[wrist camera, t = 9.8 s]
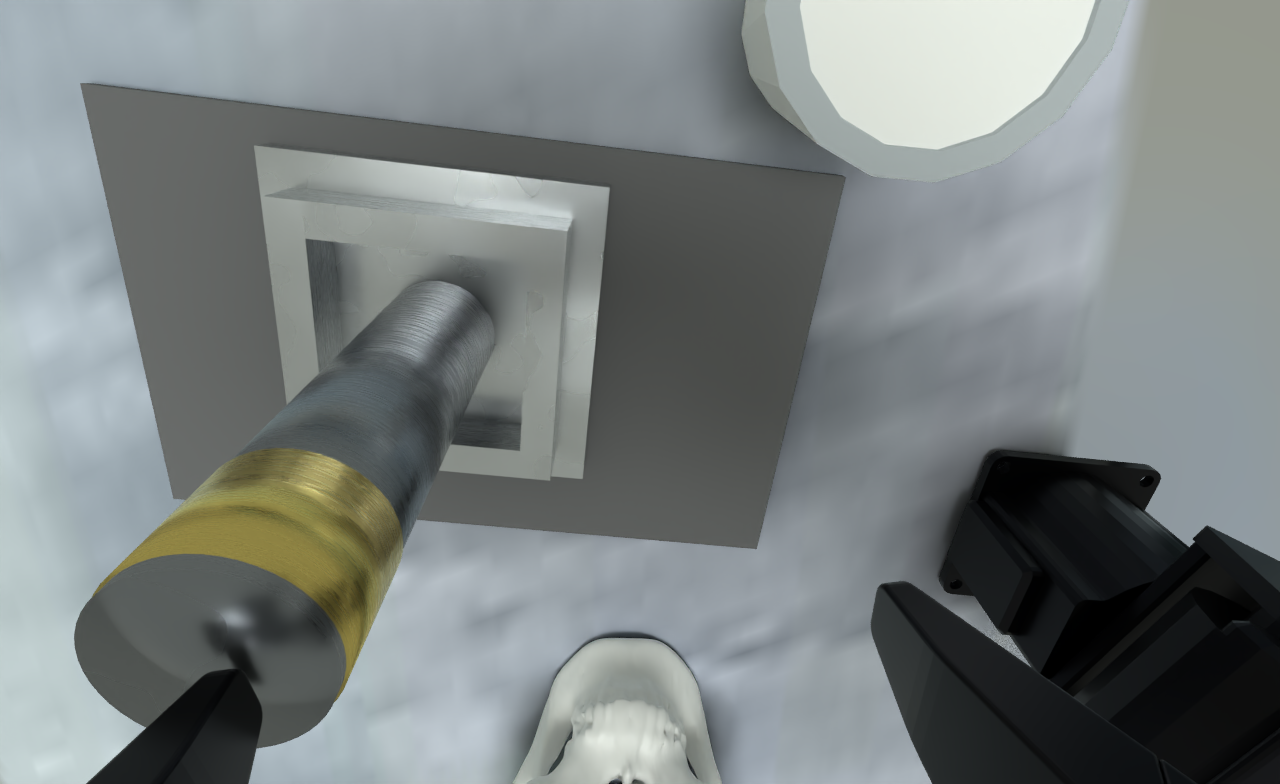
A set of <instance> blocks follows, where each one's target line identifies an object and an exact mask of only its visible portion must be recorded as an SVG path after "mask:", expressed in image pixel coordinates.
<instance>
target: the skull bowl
mask: <svg viewBox="0 0 1280 784" xmlns="http://www.w3.org/2000/svg"><path fill="white" fill-rule="evenodd" d="M572 729H573V735H572V739H571V740H569V741H568V742H567V744H566V746H565V751H564V757H563V759H562V761H561V762H560V764H559V765H558V766H557V767H556V768H555V770H554V771H553V772H552V773H550V774H549V775H547V774H548V772H549V770H550V768H551V766H552V765H553V763H554V762H555V760H556V759H557V758H558V756H559V754H560V752H561V750H562V748H563V746H564V744H565V742H566V740H567V738H568V736H569V734H570V733H571V731H572ZM686 756H687V757H686ZM687 758H688V760H689V762H690V764H691V766H692V768H693V770H694V772H695V774H696V776H697V778H696V777H695V776H694V775H693V773H692V772H691V771H690V769H689V766H688V762H687ZM617 778H618V779H619V780H621V781H622V784H722V781H721V778H720V775H719V772H718V769H717V766H716V763H715V760H714V756H713V752H712V748H711V743H710V739H709V735H708V730H707V725H706V720H705V714H704V710H703V706H702V702H701V697H700V692H699V688H698V685H697V683H696V680H695V678H694V677H693V675H692V673H691V671H690V670H689V668H688V667H687V666H686V664H685V663H684V662H683V660H682V659H681V658H680V657H679V656H678V655H677V654H676V653H675V652H674V651H673V650H672V649H671V648H670V647H668V646H667V645H665V644H664V643H662V642H660V641H657V640H652V639H643V638H604V639H598V640H595V641H593V642H591V643H589V644H587V645H586V646H584V647H583V648H582V649H580V650H579V651H578V652H577V653H576V654H575V655H574V656H573V657H572V658H571V659H570V660H569V661H568V662H567V663H566V664H565V665H564V667H563V668H562V669H561V671H560V672H559V673H558V675H557V676H556V678H555V680H554V682H553V685H552V687H551V690H550V694H549V697H548V700H547V702H546V705H545V708H544V711H543V714H542V717H541V720H540V723H539V726H538V729H537V732H536V735H535V738H534V741H533V744H532V746H531V748H530V751H529V753H528V755H527V756H526V758H525V760H524V762H523V764H522V766H521V768H520V770H519V772H518V774H517V776H516V778H515V779H514V781H513V783H512V784H609V782H610V781H612V780H614V779H617ZM634 779H636V780H635V781H634V782H633V783H632V781H633V780H634Z"/></svg>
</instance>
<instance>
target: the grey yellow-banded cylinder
mask: <svg viewBox="0 0 1280 784" xmlns="http://www.w3.org/2000/svg"><path fill="white" fill-rule="evenodd" d="M494 339H495V338H494V328H493V324H492V321H491V318H490V316H489V314H488V312H487V311H486V309H485V307H484V306H483V305H482V304H481V302H480V301H479V300H478V299H477V298H476V297H475V296H473V295H472V294H471V293H469V292H468V291H466V290H465V289H463V288H461V287H459V286H456V285H454V284H450V283H447V282H441V281H426V282H421V283H417V284H414V285H412V286H410V287H408V288H406V289H405V290H403V291H402V292H400V293H399V294H398V295H397V296H396V297H395V298H394V299H393V300H392V301H391V302H390V303H389V304H388V305H387V306H386V307H385V308H384V309H383V310H382V311H381V312H380V313H379V314H378V315H377V316H376V317H375V318H374V319H373V320H372V321H371V322H370V323H369V324H368V325H367V326H366V327H365V328H364V329H363V330H362V331H361V332H360V333H359V334H358V335H357V336H356V337H355V338H354V339H353V340H352V341H351V342H350V343H349V344H348V345H347V346H346V347H345V348H344V349H343V350H342V351H341V352H340V353H339V354H338V355H337V356H336V357H335V358H334V359H333V360H332V361H331V362H330V363H329V364H328V365H327V366H326V367H325V368H324V369H323V370H322V371H321V372H320V373H319V374H318V375H317V376H316V377H315V378H314V379H312V380H311V381H310V382H309V383H308V384H307V385H306V386H305V387H304V388H303V389H302V390H301V391H300V392H299V393H298V394H297V395H296V396H295V397H294V398H293V399H292V400H291V401H290V402H289V403H288V404H287V405H286V406H285V407H284V408H283V409H282V410H281V411H280V412H279V413H278V414H277V415H276V416H275V417H274V418H273V419H272V420H271V421H270V422H269V423H268V424H267V425H266V426H265V427H264V428H263V429H262V430H261V431H260V432H259V433H258V434H257V435H256V436H255V437H254V438H253V439H252V440H251V441H250V442H249V443H248V444H247V445H246V446H245V447H244V448H243V449H242V450H241V451H240V452H239V453H238V454H237V455H236V456H235V457H234V458H233V459H232V460H230V461H228V462H226V463H225V464H224V465H222V466H221V467H219V468H218V469H217V470H216V471H215V472H214V473H213V474H212V475H211V476H210V477H209V478H208V479H207V480H206V481H205V482H204V483H203V484H202V485H201V486H200V487H199V488H198V489H197V490H196V491H195V492H194V493H192V494H191V495H190V496H189V497H188V498H187V499H186V500H185V501H184V502H183V503H182V504H181V505H180V506H179V507H178V508H177V509H176V510H175V511H174V512H173V513H172V514H171V515H170V516H169V517H168V518H167V519H166V520H165V521H164V522H163V523H162V524H161V525H160V526H159V527H158V528H157V529H156V530H155V531H154V532H153V533H152V534H151V535H150V536H149V537H148V538H146V539H145V540H144V541H143V542H142V543H141V544H140V545H139V546H138V547H137V548H136V549H135V550H134V551H133V552H132V553H131V554H130V555H129V556H128V557H127V558H126V559H125V560H124V561H123V562H122V563H121V564H120V565H119V566H118V567H117V568H116V569H115V570H114V571H113V572H112V573H111V574H110V575H109V576H108V577H107V578H106V579H105V580H104V581H103V582H102V583H101V584H100V585H99V587H98V588H97V590H96V591H95V593H94V594H93V596H92V598H91V599H90V600H89V601H88V602H87V604H86V605H85V607H84V608H83V610H82V611H81V613H80V615H79V618H78V620H77V623H76V628H75V634H74V640H75V650H76V654H77V658H78V661H79V663H80V665H81V668H82V670H83V672H84V674H85V675H86V677H87V678H88V680H89V682H90V683H91V684H92V685H93V687H94V688H95V689H96V690H97V692H98V693H99V694H100V695H101V696H102V697H103V698H104V699H105V700H106V701H107V702H108V703H109V704H111V705H112V706H113V707H114V708H116V709H117V710H118V711H120V712H121V713H122V714H124V715H125V716H127V717H128V718H130V719H132V720H133V721H135V722H136V723H138V724H140V725H142V726H144V727H146V728H147V727H148V726H149V725H150V724H151V723H152V722H153V721H154V720H155V719H156V718H158V717H159V716H160V715H161V714H162V713H163V712H164V711H165V710H166V709H167V708H168V707H169V706H170V705H172V704H173V703H174V702H175V701H176V700H177V699H178V698H179V697H180V696H181V695H182V694H183V693H184V692H186V691H187V690H188V689H189V688H190V687H191V686H192V685H193V684H194V683H195V682H196V681H197V680H198V679H200V678H201V677H202V676H203V675H205V674H206V673H209V672H212V671H217V670H225V669H233V668H239V669H241V670H242V671H244V672H245V674H246V676H247V678H248V680H249V682H250V684H251V686H252V688H253V690H254V692H255V693H256V695H257V697H258V699H259V701H260V703H261V706H262V712H263V719H262V726H261V730H260V735H259V739H258V744H257V748H262V747H268V746H273V745H277V744H281V743H284V742H287V741H290V740H292V739H294V738H297V737H299V736H301V735H303V734H304V733H306V732H308V731H310V730H311V729H312V728H313V727H315V726H316V725H317V724H319V722H320V721H321V720H322V719H323V718H324V717H325V716H326V715H327V713H328V712H329V710H330V709H331V707H332V705H333V703H334V702H335V701H336V700H337V699H338V697H339V696H340V694H341V693H342V691H343V690H344V687H345V685H346V683H347V681H348V678H349V676H350V674H351V672H352V669H353V667H354V665H355V663H356V660H357V658H358V656H359V654H360V651H361V649H362V647H363V645H364V642H365V640H366V638H367V636H368V633H369V631H370V629H371V627H372V624H373V622H374V620H375V618H376V616H377V613H378V611H379V609H380V607H381V604H382V602H383V600H384V598H385V595H386V593H387V591H388V589H389V586H390V584H391V582H392V580H393V577H394V575H395V573H396V571H397V568H398V566H399V563H400V561H401V557H402V552H403V548H404V546H405V544H406V542H407V540H408V537H409V535H410V533H411V531H412V528H413V526H414V524H415V522H416V520H417V517H418V515H419V513H420V511H421V509H422V506H423V504H424V502H425V500H426V497H427V495H428V493H429V491H430V489H431V486H432V484H433V482H434V480H435V478H436V475H437V473H438V471H439V469H440V467H441V464H442V462H443V460H444V458H445V455H446V453H447V451H448V449H449V447H450V444H451V442H452V440H453V438H454V436H455V433H456V431H457V429H458V427H459V424H460V422H461V420H462V418H463V416H464V413H465V411H466V409H467V407H468V405H469V402H470V400H471V398H472V396H473V394H474V391H475V389H476V387H477V385H478V382H479V380H480V378H481V376H482V374H483V371H484V369H485V367H486V365H487V363H488V360H489V358H490V356H491V353H492V351H493V347H494Z"/></svg>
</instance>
